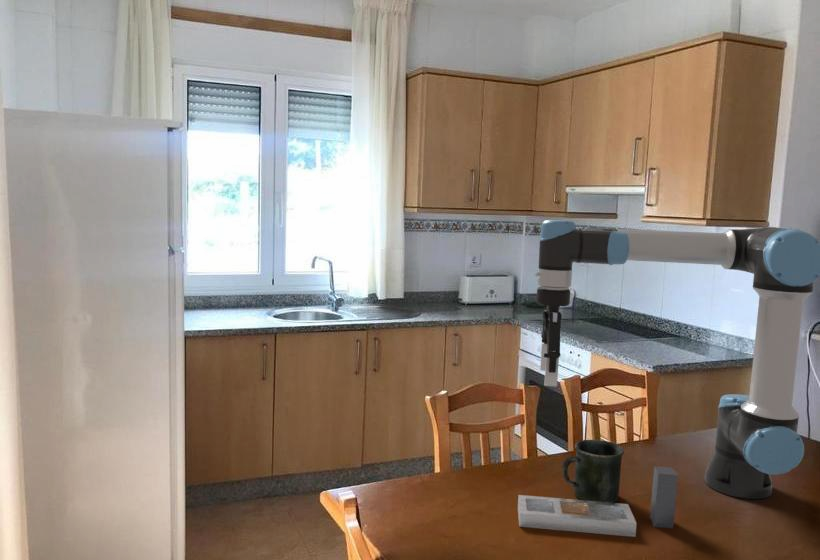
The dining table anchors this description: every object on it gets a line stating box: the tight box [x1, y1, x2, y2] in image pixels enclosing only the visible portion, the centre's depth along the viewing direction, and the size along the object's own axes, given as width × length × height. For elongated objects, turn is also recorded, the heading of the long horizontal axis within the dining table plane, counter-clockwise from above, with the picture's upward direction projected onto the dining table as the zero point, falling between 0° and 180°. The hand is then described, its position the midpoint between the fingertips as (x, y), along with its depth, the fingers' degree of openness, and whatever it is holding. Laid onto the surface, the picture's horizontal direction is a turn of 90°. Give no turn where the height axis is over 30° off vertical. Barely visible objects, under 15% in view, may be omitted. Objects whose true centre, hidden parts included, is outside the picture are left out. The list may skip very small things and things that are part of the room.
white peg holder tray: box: [517, 494, 638, 538], centre depth 147 cm, size 24×9×3 cm, turn 83°
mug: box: [561, 439, 625, 503], centre depth 160 cm, size 11×15×12 cm
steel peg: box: [649, 465, 679, 529], centre depth 148 cm, size 4×4×12 cm
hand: (548, 377), depth 158 cm, fingers open, 13 cm apart
